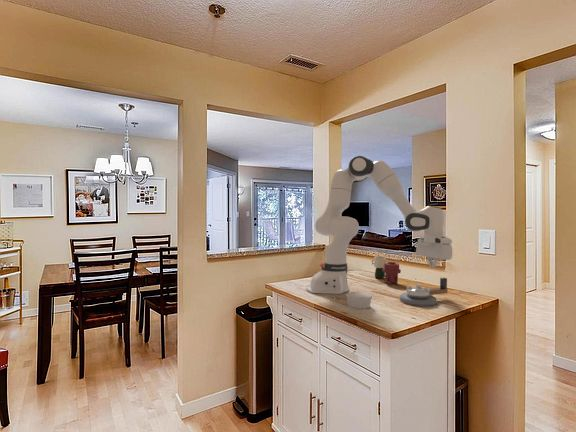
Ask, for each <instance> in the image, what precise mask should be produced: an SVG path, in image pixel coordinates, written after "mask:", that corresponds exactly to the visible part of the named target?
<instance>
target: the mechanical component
mask: <svg viewBox="0 0 576 432" xmlns="http://www.w3.org/2000/svg"><path fill="white" fill-rule="evenodd" d="M401 271H402V269H400V264H399V263H396V262H395V261H389V262H388V263H387V262H386V263H384V268H383V272H384V273H385V277H384V281H386V283H387V284H388V285H396V284H398V281H399V274H401Z"/></svg>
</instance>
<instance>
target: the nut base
mask: <svg viewBox="0 0 576 432" xmlns="http://www.w3.org/2000/svg"><path fill="white" fill-rule="evenodd" d="M437 300H438V299H437V297H435V296H433V295H430V298H428V299H415V298H411V297H408V296H407V292H404V293H401V294H399V302H401V303H403V304H405V305H409V306H414V307H434V306H436V305H437Z"/></svg>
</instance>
